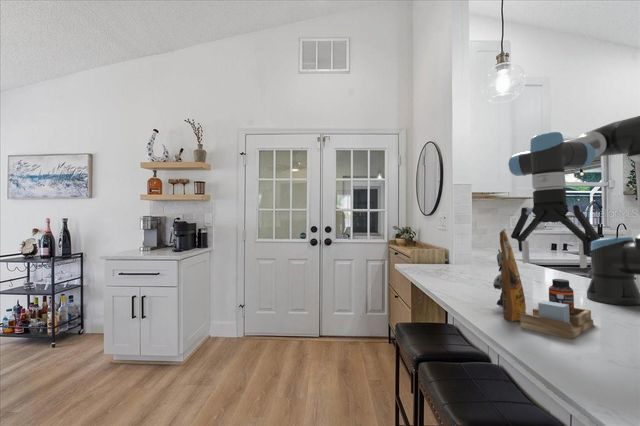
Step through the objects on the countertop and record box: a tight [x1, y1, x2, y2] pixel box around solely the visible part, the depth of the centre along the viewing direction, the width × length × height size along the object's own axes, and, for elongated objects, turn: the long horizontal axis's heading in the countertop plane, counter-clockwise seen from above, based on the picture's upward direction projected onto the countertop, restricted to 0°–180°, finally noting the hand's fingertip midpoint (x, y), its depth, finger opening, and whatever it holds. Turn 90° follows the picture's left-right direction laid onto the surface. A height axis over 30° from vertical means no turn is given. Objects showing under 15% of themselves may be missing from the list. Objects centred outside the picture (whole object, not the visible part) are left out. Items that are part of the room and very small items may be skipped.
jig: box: [520, 306, 594, 340], centre depth 93 cm, size 18×12×4 cm, turn 126°
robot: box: [492, 249, 503, 307], centre depth 117 cm, size 20×5×20 cm, turn 137°
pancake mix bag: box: [499, 228, 527, 323], centre depth 104 cm, size 7×19×28 cm, turn 141°
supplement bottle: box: [548, 278, 575, 316], centre depth 95 cm, size 6×6×11 cm
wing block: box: [537, 300, 570, 323], centre depth 89 cm, size 4×6×6 cm, turn 36°
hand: (553, 265), depth 89 cm, fingers open, 13 cm apart
